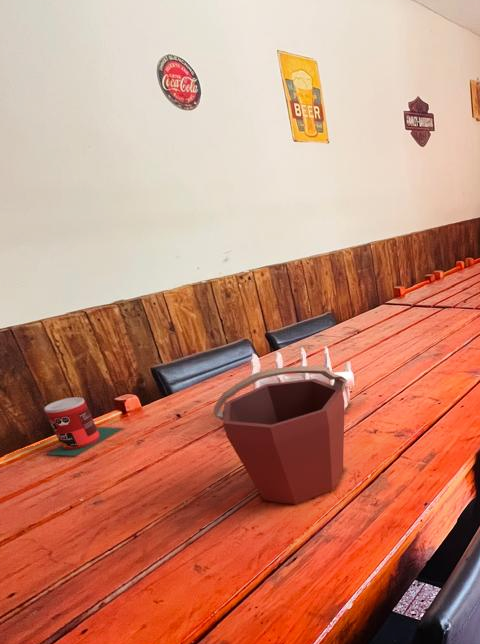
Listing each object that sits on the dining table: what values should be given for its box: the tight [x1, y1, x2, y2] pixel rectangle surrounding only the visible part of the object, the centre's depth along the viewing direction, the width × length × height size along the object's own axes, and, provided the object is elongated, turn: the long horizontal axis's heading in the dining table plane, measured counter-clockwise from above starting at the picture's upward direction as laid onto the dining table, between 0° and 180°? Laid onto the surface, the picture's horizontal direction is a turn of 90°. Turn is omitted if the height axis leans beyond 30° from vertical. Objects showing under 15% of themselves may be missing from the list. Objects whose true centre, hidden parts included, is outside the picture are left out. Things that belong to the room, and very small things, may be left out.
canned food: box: [43, 396, 99, 450], centre depth 127 cm, size 8×8×11 cm
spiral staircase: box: [250, 345, 355, 412], centre depth 135 cm, size 18×18×25 cm
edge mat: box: [47, 427, 122, 457], centre depth 130 cm, size 8×14×1 cm, turn 169°
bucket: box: [212, 365, 347, 505], centre depth 102 cm, size 24×22×25 cm
